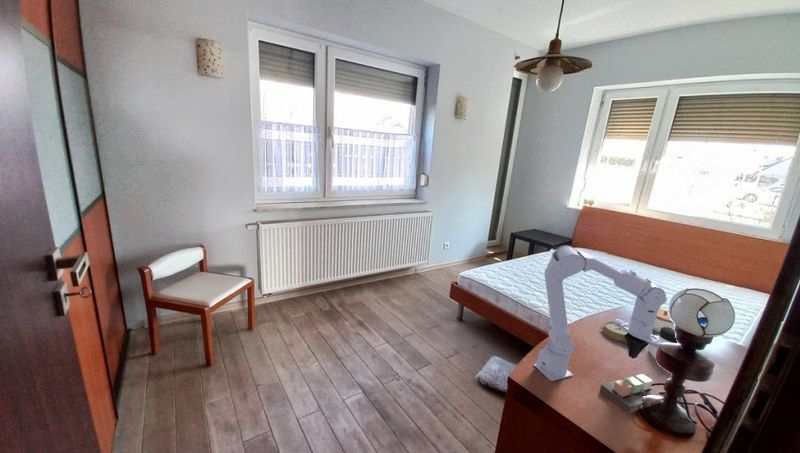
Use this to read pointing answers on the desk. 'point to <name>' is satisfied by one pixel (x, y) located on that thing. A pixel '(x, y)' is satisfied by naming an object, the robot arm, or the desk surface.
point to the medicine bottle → (663, 338)
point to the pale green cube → (634, 384)
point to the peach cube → (622, 388)
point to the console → (626, 402)
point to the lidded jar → (662, 320)
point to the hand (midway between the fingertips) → (632, 356)
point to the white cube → (644, 381)
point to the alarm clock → (614, 331)
